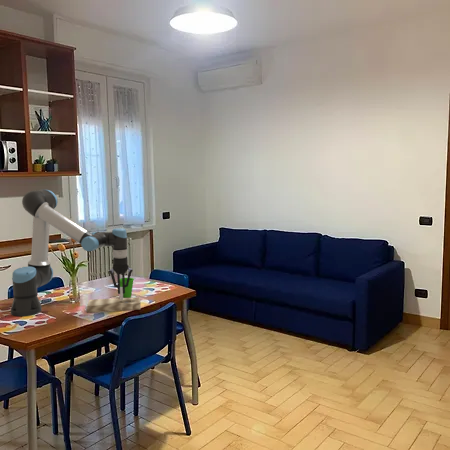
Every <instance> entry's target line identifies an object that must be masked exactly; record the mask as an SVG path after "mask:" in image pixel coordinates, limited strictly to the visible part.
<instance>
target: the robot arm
mask: <svg viewBox="0 0 450 450" xmlns="http://www.w3.org/2000/svg"><path fill="white" fill-rule="evenodd" d="M21 204H22V207H23V209H24V210H25V211H26V212H27V213H28V214H30V215H31V216H32V218H33V219H32V220H33V221H32V234H31V235H32V237H31V254H30V255H31V256H30V259H29V261H28V262H27V266H22V267H18V268H16V269H14V270H13V272H12V275H11V276H12V277H11V279H12V291H13V295H12V296H13V300H12V304H11V307H10V314H11V316H16V317H28V316H32V315H36V314H38V313H41V312H42V305H41V301H40V300H39V297H38V289H39V288H40V287H42V286H45V285H47V284H48V283H50V281H52V279H53V277H54V270H53V268H52V266H51V262H50V261H49V259H48V258H49V257H48V256H49V242H50V226H52V227H54V228H55V229H57V230H58V231H60V232H61V233H62V234H63V235H64V234H65V235H66V236H67V237H69V238H71V239H73V240H74V241H75V242H77V243H78V244H79V245H81V247H82V249H83V250H84V251H86V252H93V251H96V250H97V249H100V248H102V247H112V257H113V259H112V260H113V261H112V262H113V263H112V264H113V266H112V268H110V269H108V273H109V275H110V276H111V280H112V285H113V287H114V288H117V295H119V298H120V300H123V294H125V287H128V284H129V280H130V278H131V274H132V272H133V268H130V266H129V265H128V263H129V262H128V261H129V259H128V240H127V239H128V236H127V235H128V234H127V229H125V228H123V227H121V228H117V227H116V228H113V229H112V230H111V231H110V232H108V231H107V232H106V231H103V232H102V231H94V232H90V231H88V230H87V229H85V228H84V227H82V226H81V225H79V224H78V223H76V222H74V221H73V220H71V219H70V218H68V217H67V216H65V214H64V215H63V214H62V213H60V212H59V211H57V210H55V208H57V205H58V197H57V195H56V194H55V193H54V192H53V191H52V190H49V189H38V190H37V189H36V190H30V191H28V192H26V193H25V194H24V195H23V197H22V200H21ZM127 272H128V273H127ZM114 273H115V274H116V277H117V282H116V278H115V274H114ZM126 273H127V277H125V275H126ZM121 278H122V286H123V287H120V279H121ZM125 278H127V282H126V284H125Z"/></svg>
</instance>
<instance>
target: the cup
mask: <svg viewBox="0 0 450 450" xmlns="http://www.w3.org/2000/svg"><path fill="white" fill-rule="evenodd" d="M127 278H128V277H125V284H126V282H127ZM134 280H135V278H133V277H130V280H129V284H128V287H125V294H123V298H132V293H133V286H134ZM120 287H123V286H122V277H120Z"/></svg>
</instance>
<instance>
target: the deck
mask: <svg viewBox="0 0 450 450" xmlns="http://www.w3.org/2000/svg"><path fill="white" fill-rule="evenodd" d="M125 302H128V303H125ZM141 307H142V306H141V296H139V297H137V296H136V297H131V298H123V300H120V297H119V298H118V297H116V298H98V299H88V301H87V305H86V312H87V313H101V312H115V311H116V312H119V311H120V310H122V311H134V310H135V311H138V310H141Z"/></svg>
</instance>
